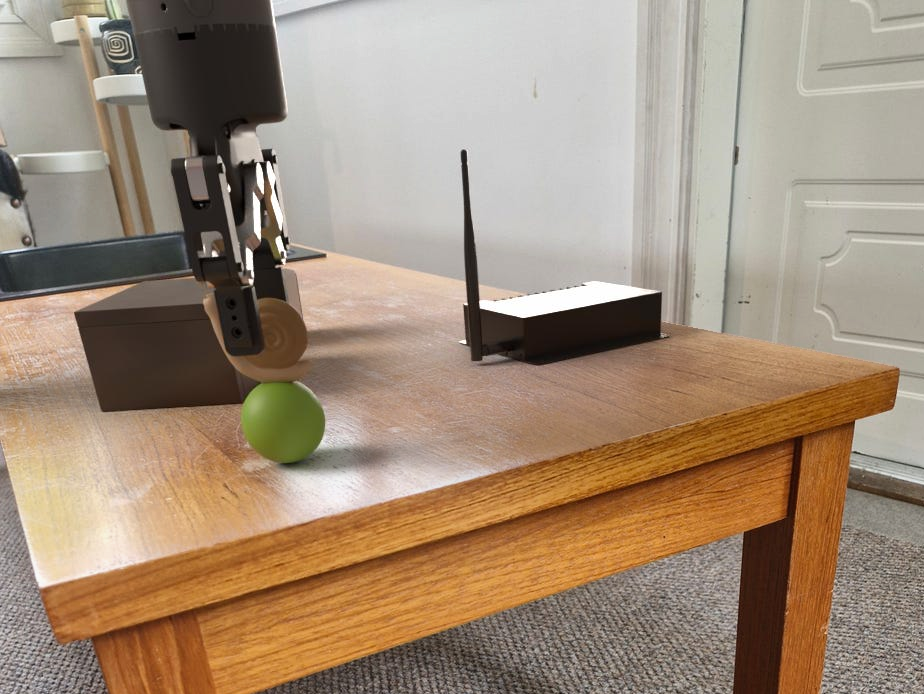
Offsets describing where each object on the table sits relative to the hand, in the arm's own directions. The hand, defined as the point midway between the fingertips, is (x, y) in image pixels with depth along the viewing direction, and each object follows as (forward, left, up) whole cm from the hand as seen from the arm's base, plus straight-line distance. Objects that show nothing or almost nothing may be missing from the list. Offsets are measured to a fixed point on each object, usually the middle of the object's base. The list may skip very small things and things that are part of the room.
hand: (261, 339), depth 56 cm
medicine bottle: (-11, +41, -8) cm, 43 cm away
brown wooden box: (-13, +24, -8) cm, 28 cm away
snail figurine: (0, 0, -8) cm, 8 cm away
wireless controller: (+19, +32, -8) cm, 38 cm away
